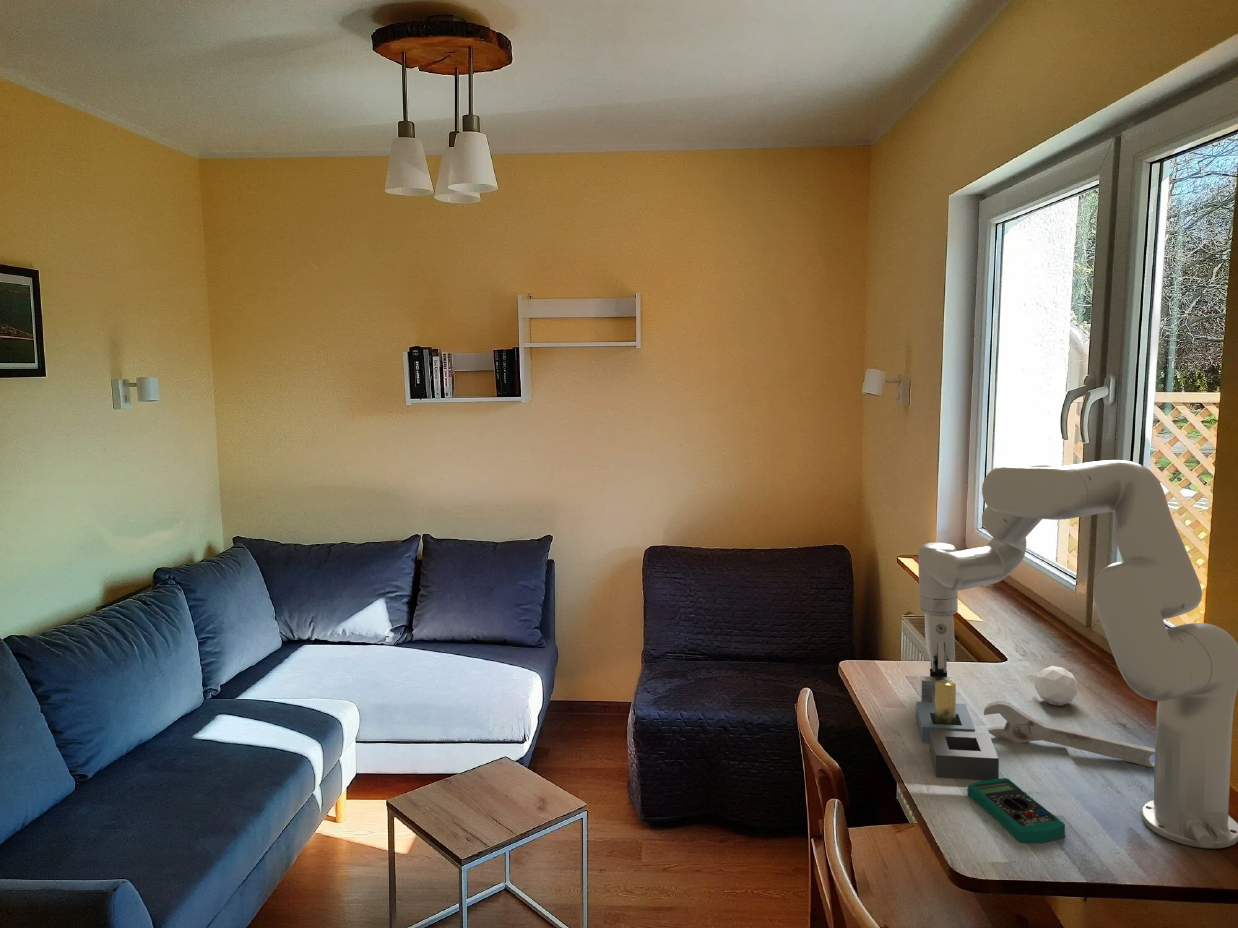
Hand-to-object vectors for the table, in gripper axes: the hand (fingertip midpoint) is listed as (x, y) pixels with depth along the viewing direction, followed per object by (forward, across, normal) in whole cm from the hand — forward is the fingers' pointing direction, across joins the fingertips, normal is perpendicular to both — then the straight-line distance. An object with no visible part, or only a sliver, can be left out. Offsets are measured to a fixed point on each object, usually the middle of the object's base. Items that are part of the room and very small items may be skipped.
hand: (938, 688), depth 183 cm
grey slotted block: (+3, -30, -1) cm, 30 cm away
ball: (+3, +2, -23) cm, 23 cm away
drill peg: (+2, -18, +1) cm, 18 cm away
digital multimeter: (+4, -44, -6) cm, 45 cm away
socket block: (+3, -16, +1) cm, 16 cm away
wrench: (+3, -21, -20) cm, 29 cm away
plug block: (+2, -7, +1) cm, 8 cm away
